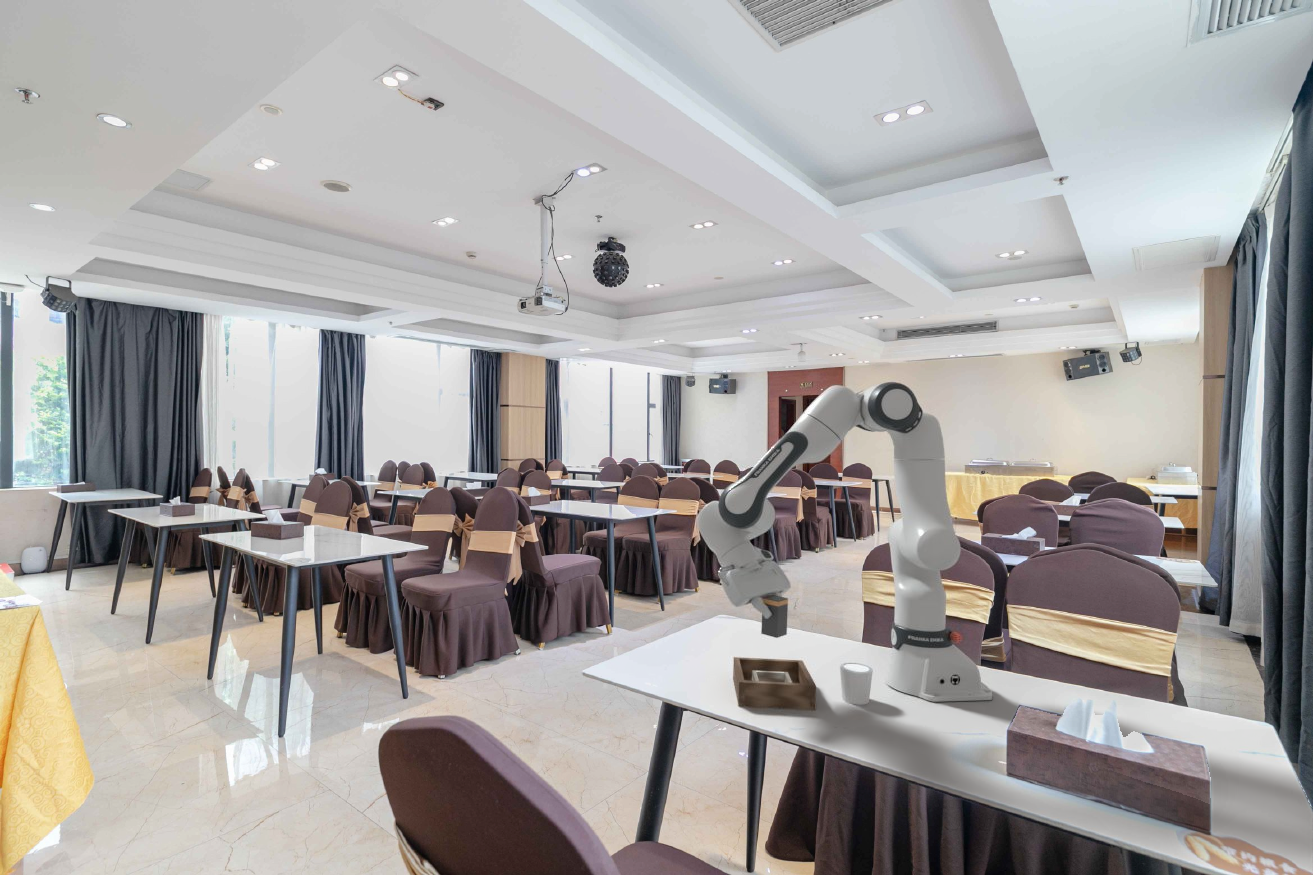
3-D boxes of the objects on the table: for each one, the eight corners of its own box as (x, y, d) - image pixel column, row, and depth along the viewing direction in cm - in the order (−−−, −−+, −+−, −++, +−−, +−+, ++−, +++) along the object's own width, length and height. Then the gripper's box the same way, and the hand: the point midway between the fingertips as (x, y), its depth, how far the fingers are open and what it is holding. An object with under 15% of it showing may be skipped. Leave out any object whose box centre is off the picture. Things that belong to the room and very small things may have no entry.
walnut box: (801, 681, 148) (802, 660, 148) (815, 710, 132) (816, 685, 132) (733, 678, 148) (733, 657, 148) (738, 705, 132) (739, 682, 133)
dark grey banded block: (771, 630, 143) (772, 594, 143) (786, 634, 140) (788, 598, 140) (761, 633, 140) (762, 597, 140) (776, 637, 137) (778, 600, 137)
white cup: (872, 696, 140) (872, 664, 140) (871, 707, 134) (872, 674, 134) (839, 691, 142) (840, 660, 143) (838, 702, 136) (839, 670, 136)
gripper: (723, 559, 137) (759, 614, 130) (774, 551, 152) (809, 599, 145) (706, 577, 140) (741, 631, 133) (758, 566, 155) (791, 615, 148)
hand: (777, 614), depth 139 cm, fingers closed on dark grey banded block, 4 cm apart
